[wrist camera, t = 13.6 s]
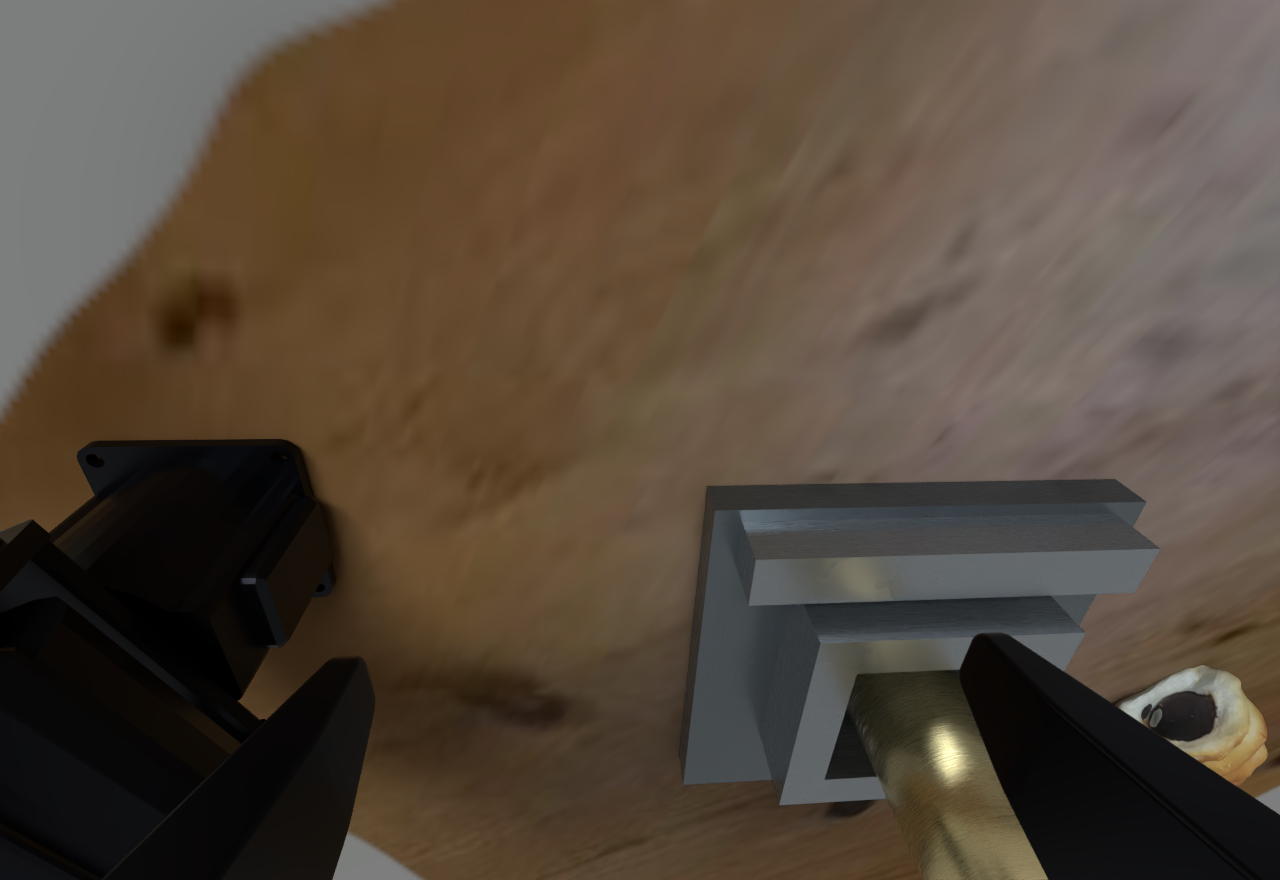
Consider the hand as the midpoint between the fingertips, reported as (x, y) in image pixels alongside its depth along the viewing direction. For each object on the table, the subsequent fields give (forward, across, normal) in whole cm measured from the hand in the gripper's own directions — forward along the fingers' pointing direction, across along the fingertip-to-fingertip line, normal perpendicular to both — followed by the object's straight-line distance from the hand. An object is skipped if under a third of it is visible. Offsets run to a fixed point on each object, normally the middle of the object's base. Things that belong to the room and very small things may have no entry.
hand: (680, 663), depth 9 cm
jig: (+12, -11, +13) cm, 21 cm away
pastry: (+12, -29, +20) cm, 37 cm away
